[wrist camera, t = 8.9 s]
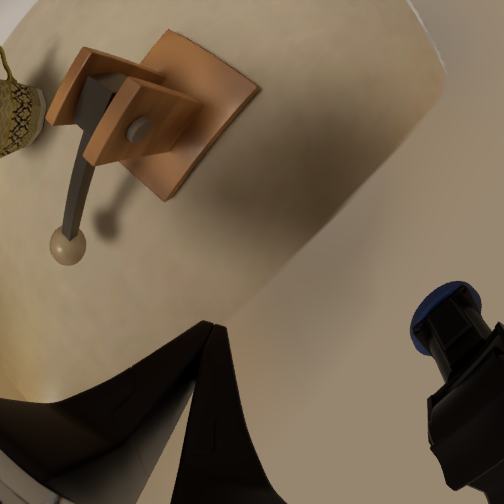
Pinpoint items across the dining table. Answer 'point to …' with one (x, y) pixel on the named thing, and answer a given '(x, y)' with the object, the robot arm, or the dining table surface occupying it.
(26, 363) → the dining table surface
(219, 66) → the bracket
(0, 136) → the ceramic cup
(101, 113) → the lever
